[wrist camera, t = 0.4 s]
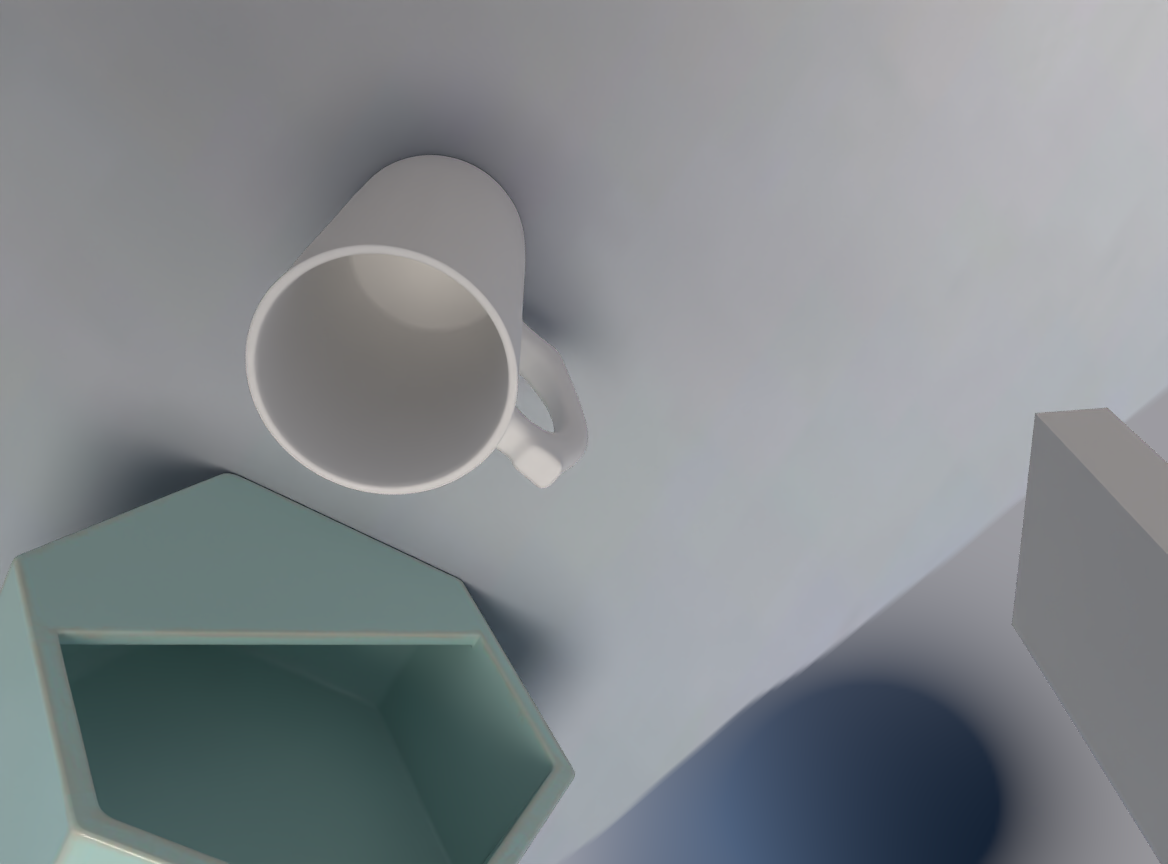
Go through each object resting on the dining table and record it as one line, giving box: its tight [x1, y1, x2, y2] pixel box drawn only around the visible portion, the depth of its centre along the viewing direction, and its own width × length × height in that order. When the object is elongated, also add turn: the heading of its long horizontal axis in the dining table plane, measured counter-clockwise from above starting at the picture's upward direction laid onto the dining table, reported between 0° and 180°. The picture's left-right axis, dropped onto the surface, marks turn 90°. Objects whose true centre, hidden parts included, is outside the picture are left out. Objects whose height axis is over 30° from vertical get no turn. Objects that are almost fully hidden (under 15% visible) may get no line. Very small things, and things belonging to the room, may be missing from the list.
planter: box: [0, 473, 575, 864], centre depth 36 cm, size 17×8×21 cm
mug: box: [245, 155, 588, 495], centre depth 33 cm, size 10×7×12 cm, turn 49°
